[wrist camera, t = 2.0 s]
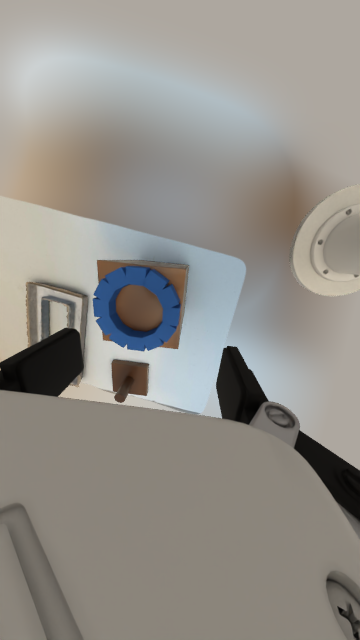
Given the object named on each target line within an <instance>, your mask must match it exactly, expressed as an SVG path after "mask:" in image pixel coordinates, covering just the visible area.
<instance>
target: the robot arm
mask: <svg viewBox="0 0 360 640" xmlns="http://www.w3.org/2000/svg"><path fill="white" fill-rule="evenodd" d="M310 259H311V264H312V266H313V268H314V270H315V271H316V273H317V274H318V275H320V276H321V277H322V278H324V279H327V280H330V281H336V282H346V281H351V280H355V279H357V278H360V204H355V205H352V206H349V207H346V208H344V209H342V210H340V211H338V212H337V213H335V214H334V215H332V216H331V217H330V218H329V219H328V220H327V221H326V222H325V223H324V224H323V225H322V226H321V227H320V229H319V230H318V232H317V234H316V235H315V237H314V240H313V242H312V246H311V251H310ZM0 368H1V371H0V640H360V471H359V470H358V469H356V468H355V467H354V466H352V465H350V464H349V463H347V462H346V461H345V460H343V459H342V458H340V457H339V456H337V455H336V454H334V453H333V452H331V451H330V450H328V449H327V448H325V447H324V446H322V445H321V444H319V443H318V442H316V441H315V440H313V439H312V438H310V437H309V436H307V435H306V434H304V433H303V432H301V431H300V430H299V428H300V424H299V421H298V419H297V417H296V416H295V415H294V414H293V413H292V412H291V411H290V410H289V409H288V408H286V407H284V406H283V405H281V404H279V403H275V402H269V401H268V399H267V398H266V396H265V394H264V392H263V390H262V388H261V387H260V385H259V383H258V381H257V379H256V377H255V376H254V374H253V372H252V371H251V370H250V369H248V367H247V365H246V363H245V361H244V359H243V357H242V355H241V354H240V352H239V350H238V348H237V347H232V346H227V348H224V349H223V354H222V358H221V363H220V368H219V373H218V377H217V382H216V389H217V394H218V398H219V404H220V409H221V414H222V419H221V418H215V417H209V416H203V415H196V414H188V413H181V412H173V411H165V410H158V409H150V408H142V407H134V406H126V405H118V404H110V403H102V402H95V401H86V400H79V399H71V398H63V397H58V396H59V395H60V394H61V393H62V392H63V391H64V390H65V388H67V387H68V386H69V385H70V384H71V383H72V382H73V380H74V379H75V378H76V377H77V376H78V375H79V374H80V373H81V372H82V371H83V369H84V364H83V356H82V348H81V340H80V333H79V332H78V331H77V329H73V328H64V329H62V330H60V331H58V332H56V333H55V334H53V335H51V336H49V337H47V338H45V339H43V340H41V341H40V342H38V343H36V344H34V345H32V346H30V347H28V348H26V349H25V350H23V351H21V352H19V353H17V354H15V355H13V356H12V357H10V358H8V359H6V360H4V361H2V362H0ZM326 581H327V582H326Z"/></svg>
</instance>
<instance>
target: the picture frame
mask: <svg viewBox="0 0 360 640" xmlns="http://www.w3.org/2000/svg"><path fill="white" fill-rule="evenodd" d="M26 287H27V288H26V291H27V295H26V298H27V299H26V306H27V309H26V310H27V329H28V330H27V336H28V343H29V344H28V347H30V346H32V345H34V344H36V343H38V342H40V341H41V340H43V339H45V338H47V337H49V301H55V302H58V303H62V304H63V305H64V306H67V312H68V315H67V319H68V323H67V326H68V328H73V329H77V331H78V332H79V333H80V340H81V348H82V356H83V358H84V344H85V343H84V342H85V330H86V317H87V307H88V297H87V296H85V295H82V294H78V293H75V292H71V291H69V290H65V289H60V288H57V287H54V286H49V285H47V284H42V283H37V282H36V283H33V282H27V283H26ZM82 375H83V371H82V372H81V373H80V374H79V375H78V376H77V377H76V378H75V379H74V380H73V382H72V383H71V384H70V385H72V386H73V385H74V386H76V387H79V384H80V381H81V379H82Z"/></svg>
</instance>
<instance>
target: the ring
mask: <svg viewBox="0 0 360 640" xmlns="http://www.w3.org/2000/svg"><path fill="white" fill-rule="evenodd" d="M105 277H106V278H103V279H101V281H100V283H99V285H98V287H97V289H96V291H95V293H94V295H95V296H96V298H94V299H93V307H94V316H95V317H100V318H99V319H97V320H96V322H97V323H98V325H99V326H100V328H101V330H102V331H103V333H104V334H105V336H106V335H108V334H111V335H110V337H109V339H110V340H112V341H113V342H115V343H117V344H118V345H120V346H121V347H123V348H124V347H125V345H126V344H127V349H130V350H138V351H144V350H145V348H147V350H148V351H149V350H151V349H154V348H157V347H159V346H162V345H163V344H164V342H167V341H168V340H169V339H170V337H171V336H172V335H173V334H174V332H175V331H176V329H177V326H178V324H179V318H180V308H181V304H179V302H180V299H179V297H178V295H177V293H176V290H175V288H174V286H173V284H171V285H168V286H166V285H167V284H168V282H169V281H170V280H168V279H167V278H166V277H164V276H163V275H162V274H160V273H159V272H157V271H156V270H155V269H153V270H150V268H149V267H140V266H126V267H120V268H118V269H116V270H114V271H113V272H111V273H109V274H107V275H105ZM129 284H130V285H139V286H144V287H146V288H147V289H148V290H150V291H151V292H153V293H154V294H155V295H156V296H157V298H158V300H159V301H160V303H161V305H162V307H163V317H162V322H161V323H160V325H159V326H158V327H157V328H155V329H152V330H150V331H147V332H143V331H134V330H132V329H131V328H129V327H128V326H126V325H125V324H123V322H122V321H121V319H120V317H119V316H118V314H117V312H116V298H117V296H118V294H119V292H120V291H121V289H122V288H123V287H125V286H127V285H129Z"/></svg>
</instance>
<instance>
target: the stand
mask: <svg viewBox="0 0 360 640" xmlns="http://www.w3.org/2000/svg"><path fill="white" fill-rule="evenodd" d="M126 266H140V267H149V268H150V270H153V269H155V270H156V271H157V272H159V273H160V274H162V275H163V276H164V277H166V278H167V279H168V280H170V281H169V282H168V284H167V285H166V286H168V285H171V284H173V286H174V288H175V290H176V293H177V295H178V297H179V299H180V302H179V304H181V308H180V318H179V324H178V326H177V329H176V331H175V332H174V334H173V335H172V336H171V337H170V339H169V340H168V341H167V342H164V344H163V345H162V346H159V347H165V348H173V349H178V346H179V340H180V334H181V329H182V323H183V317H184V310H185V301H186V291H187V282H188V273H189V265H184V264H174V263H164V262H154V261H144V260H97V267H98V280H99V283H100V281H101V279H103V278H106V277H105V275H107V274H109V273H111V272H113V271H114V270H116V269H118V268H120V267H126ZM116 312H117V314H118V316H119V317H120V319H121V321H122V322H123V324H125V325H126V326H128V327H129V328H131V329H132V330H134V331H143V332H147V331H150V330H152V329H155V328H157V327H158V326H159V325H160V323H161V322H162V317H163V307H162V305H161V303H160V301H159V300H158V298H157V296H156V295H155V294H154V293H153V292H151V291H150V290H148V289H147V288H146V287H144V286H139V285H130V284H129V285H127V286H125V287H123V288H122V289H121V291H120V292H119V294H118V296H117V298H116ZM102 333H103V331H102ZM110 335H111V334H108V335H106V336H105V334H104V333H103V340H106V341H112V340H110V339H109V337H110Z"/></svg>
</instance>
